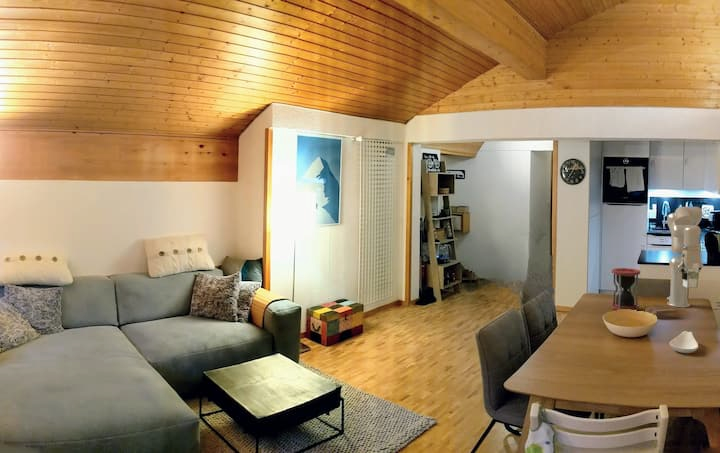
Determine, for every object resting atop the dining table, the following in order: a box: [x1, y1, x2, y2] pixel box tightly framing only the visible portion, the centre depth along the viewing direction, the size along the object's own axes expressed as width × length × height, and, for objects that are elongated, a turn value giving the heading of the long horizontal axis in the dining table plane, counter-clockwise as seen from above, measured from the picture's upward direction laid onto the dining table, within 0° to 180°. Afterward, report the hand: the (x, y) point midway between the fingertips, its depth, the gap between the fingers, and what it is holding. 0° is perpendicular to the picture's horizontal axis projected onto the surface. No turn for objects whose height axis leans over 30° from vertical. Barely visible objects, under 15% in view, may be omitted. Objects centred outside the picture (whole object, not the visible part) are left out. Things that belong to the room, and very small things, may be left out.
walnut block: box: [644, 305, 677, 320], centre depth 317 cm, size 12×12×5 cm
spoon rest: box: [669, 330, 699, 354], centre depth 259 cm, size 24×12×7 cm, turn 142°
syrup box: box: [682, 263, 699, 289], centre depth 304 cm, size 6×6×14 cm
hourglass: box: [610, 267, 641, 311], centre depth 334 cm, size 16×16×25 cm
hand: (690, 278), depth 305 cm, fingers closed on syrup box, 6 cm apart
